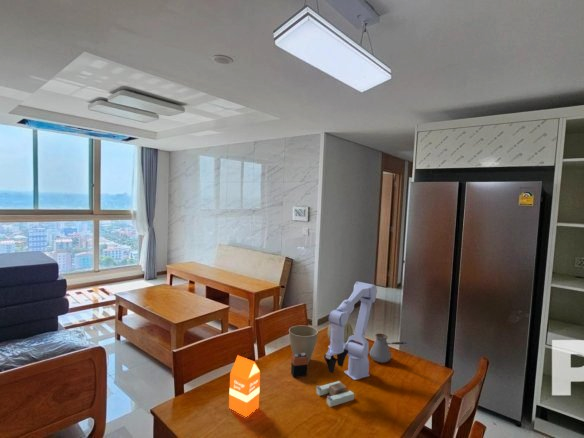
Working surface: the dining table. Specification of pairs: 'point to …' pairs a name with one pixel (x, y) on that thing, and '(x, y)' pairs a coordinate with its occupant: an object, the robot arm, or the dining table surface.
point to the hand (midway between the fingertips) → (335, 369)
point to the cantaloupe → (347, 332)
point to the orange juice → (244, 386)
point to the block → (337, 389)
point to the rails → (335, 398)
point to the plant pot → (303, 340)
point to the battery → (299, 365)
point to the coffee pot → (382, 348)
